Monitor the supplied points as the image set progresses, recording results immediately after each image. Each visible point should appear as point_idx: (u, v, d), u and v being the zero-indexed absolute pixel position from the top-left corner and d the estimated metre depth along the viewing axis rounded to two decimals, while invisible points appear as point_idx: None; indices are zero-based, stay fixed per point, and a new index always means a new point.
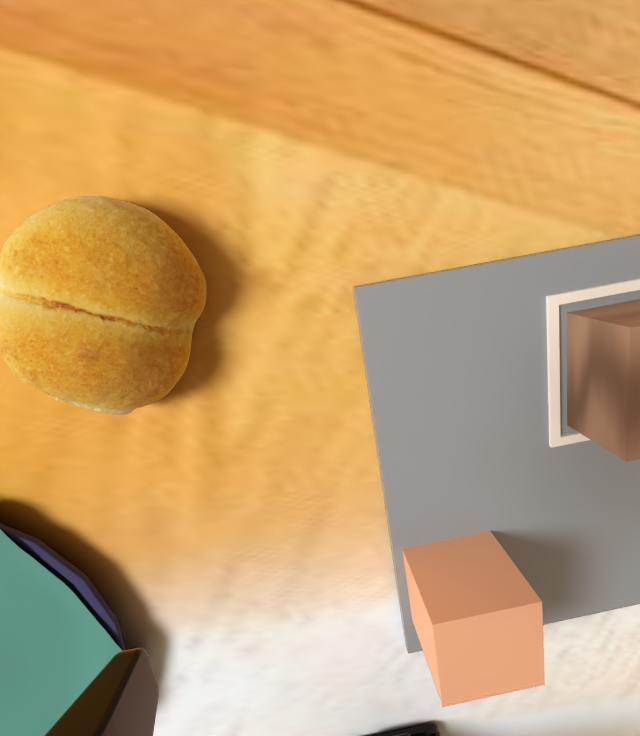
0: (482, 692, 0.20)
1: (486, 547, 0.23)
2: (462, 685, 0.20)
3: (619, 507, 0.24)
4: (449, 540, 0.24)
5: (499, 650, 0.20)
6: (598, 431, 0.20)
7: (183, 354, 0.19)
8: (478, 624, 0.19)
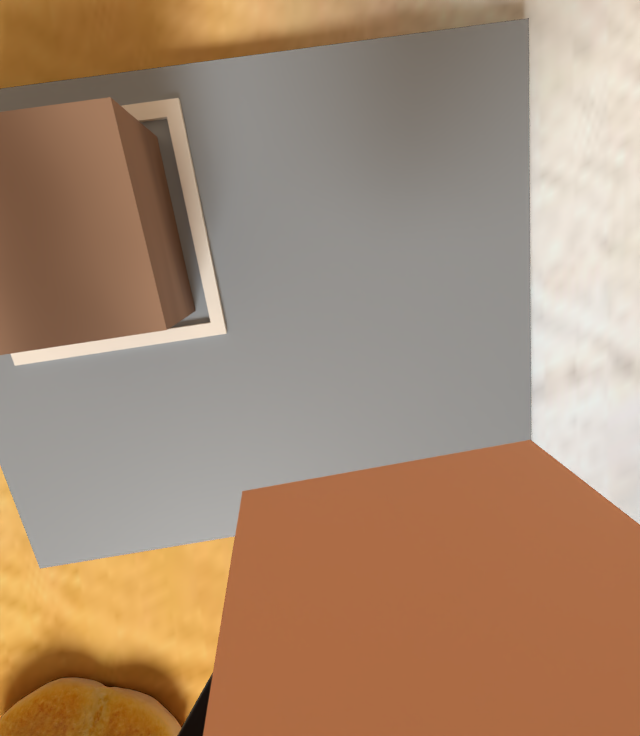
0: None
1: None
2: None
3: (334, 205, 0.16)
4: None
5: None
6: None
7: (118, 715, 0.20)
8: None
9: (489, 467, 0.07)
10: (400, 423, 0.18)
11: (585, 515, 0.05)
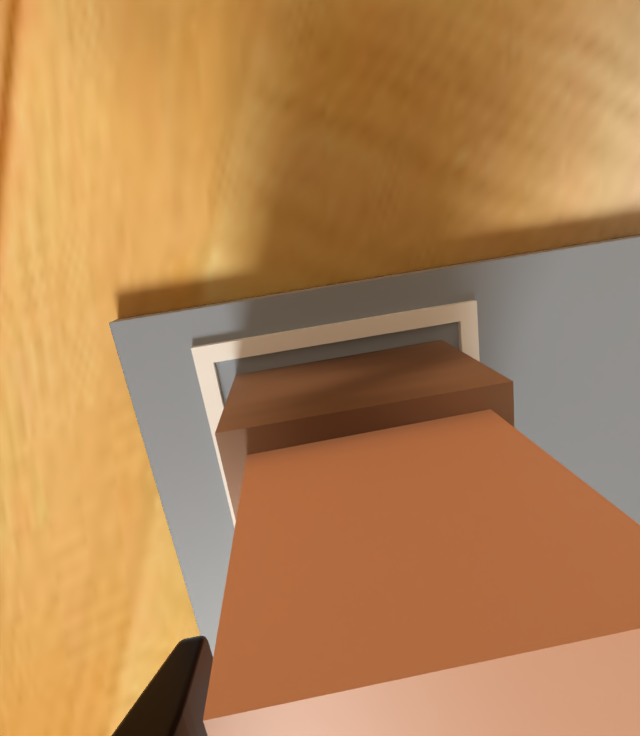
0: None
1: None
2: None
3: (626, 401, 0.14)
4: None
5: None
6: None
7: None
8: None
9: (453, 430, 0.08)
10: None
11: (523, 461, 0.07)
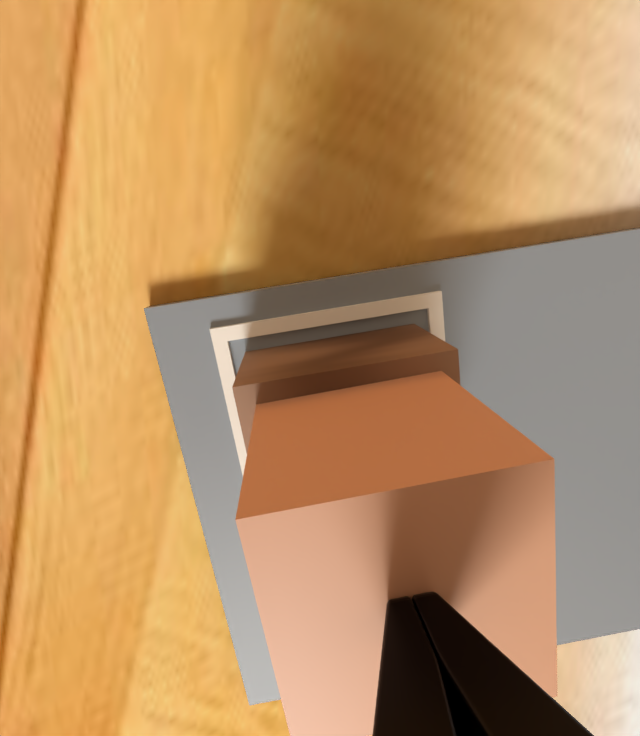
0: (536, 616, 0.08)
1: None
2: None
3: (570, 376, 0.16)
4: None
5: None
6: None
7: None
8: (302, 662, 0.07)
9: (410, 384, 0.11)
10: (603, 563, 0.19)
11: (454, 399, 0.10)
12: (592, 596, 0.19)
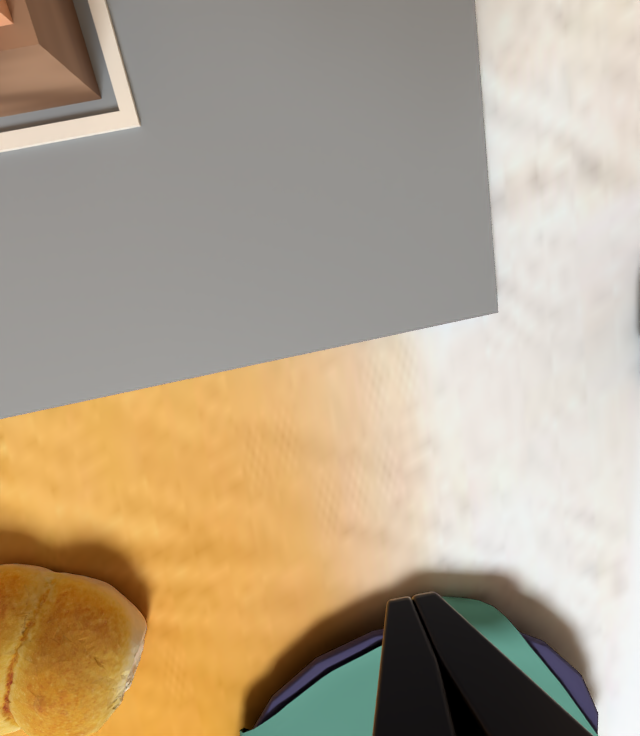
0: None
1: None
2: None
3: None
4: None
5: None
6: (45, 76, 0.12)
7: (66, 595, 0.18)
8: None
9: None
10: (347, 237, 0.16)
11: None
12: (343, 284, 0.17)
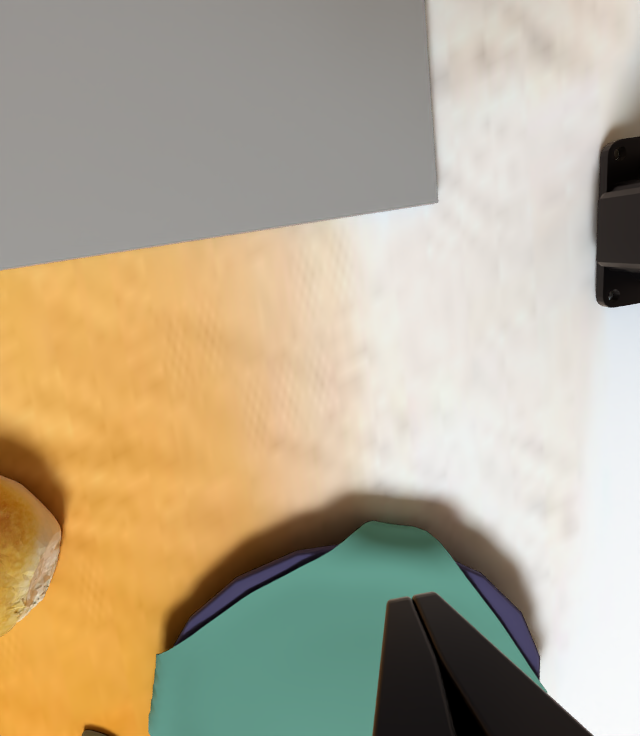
0: None
1: None
2: None
3: None
4: None
5: None
6: None
7: None
8: None
9: None
10: (273, 103, 0.15)
11: None
12: (268, 157, 0.16)
